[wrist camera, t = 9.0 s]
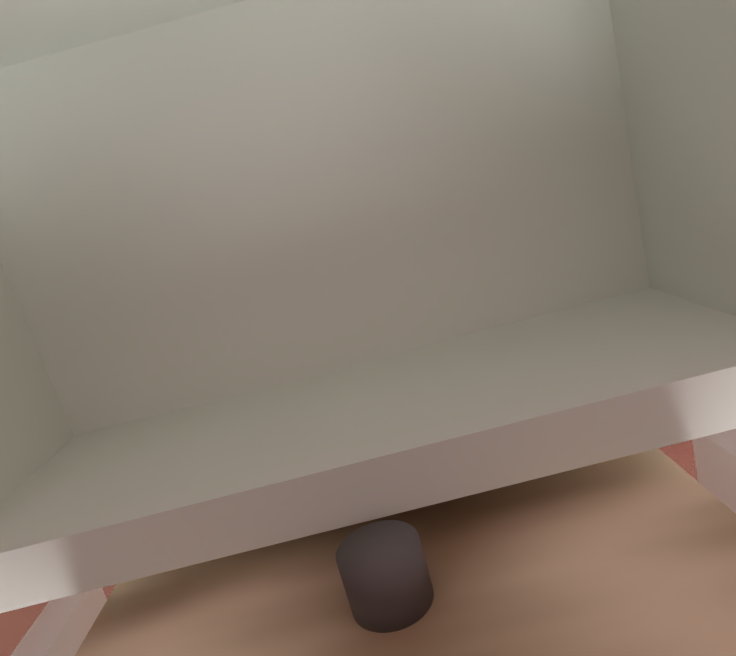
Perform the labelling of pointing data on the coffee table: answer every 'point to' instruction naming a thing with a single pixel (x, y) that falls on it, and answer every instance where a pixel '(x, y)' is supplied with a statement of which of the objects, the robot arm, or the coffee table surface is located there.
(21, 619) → the coffee table surface
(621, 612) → the knobbed wooden block
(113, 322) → the box
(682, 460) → the coffee table surface
